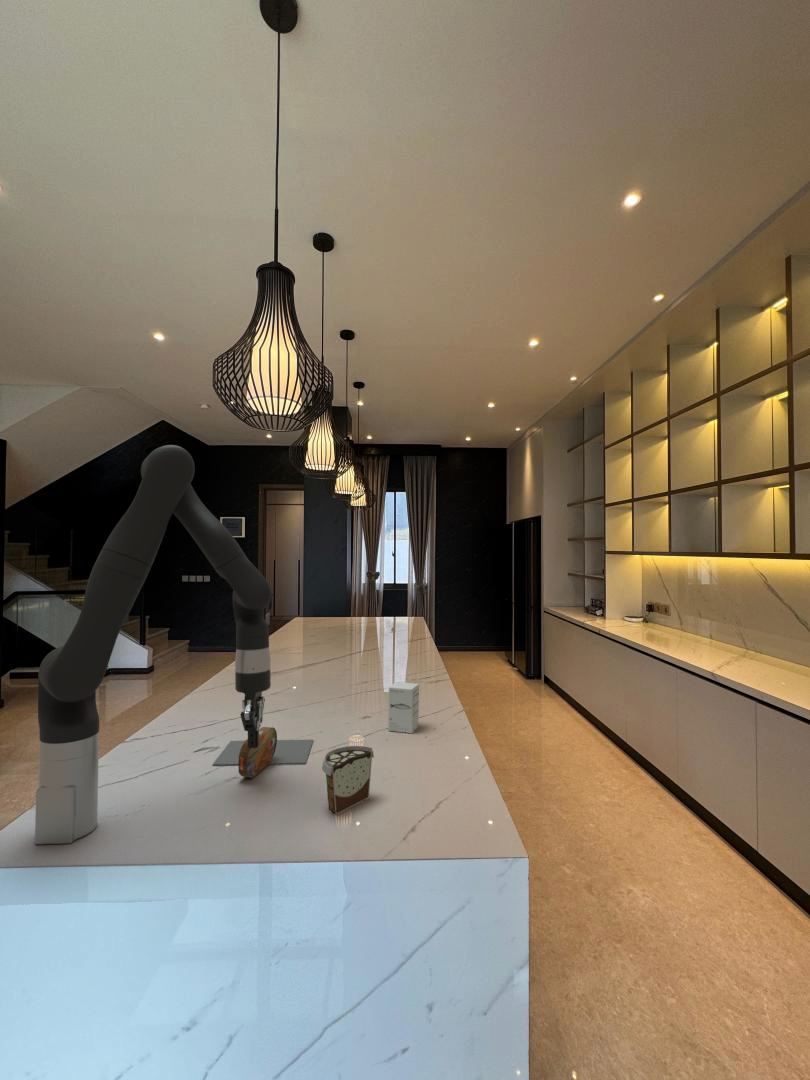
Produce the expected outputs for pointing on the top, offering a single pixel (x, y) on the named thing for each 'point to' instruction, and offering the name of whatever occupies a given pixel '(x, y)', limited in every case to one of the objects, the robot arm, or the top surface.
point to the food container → (347, 776)
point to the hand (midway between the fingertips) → (253, 746)
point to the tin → (257, 753)
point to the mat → (283, 753)
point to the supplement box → (403, 707)
